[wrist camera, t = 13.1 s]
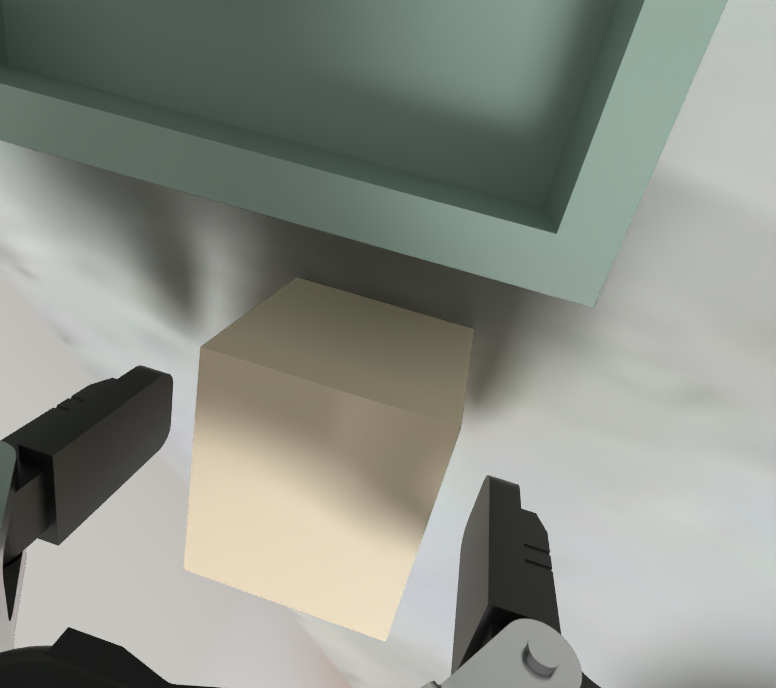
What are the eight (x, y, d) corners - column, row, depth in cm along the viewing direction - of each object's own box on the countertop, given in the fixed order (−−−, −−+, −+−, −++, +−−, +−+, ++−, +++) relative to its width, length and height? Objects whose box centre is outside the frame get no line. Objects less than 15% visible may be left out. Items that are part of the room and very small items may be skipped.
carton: (474, 327, 13) (461, 427, 9) (418, 497, 16) (385, 642, 11) (298, 276, 14) (200, 346, 9) (270, 448, 16) (183, 569, 12)
